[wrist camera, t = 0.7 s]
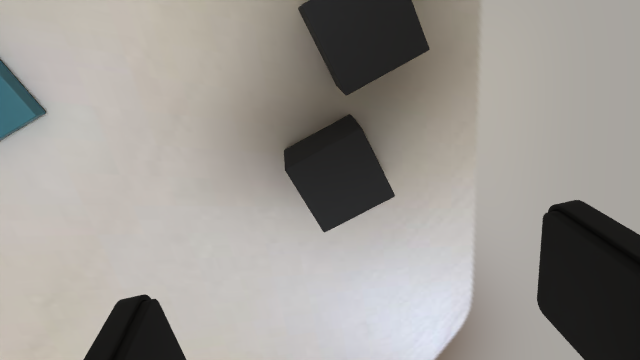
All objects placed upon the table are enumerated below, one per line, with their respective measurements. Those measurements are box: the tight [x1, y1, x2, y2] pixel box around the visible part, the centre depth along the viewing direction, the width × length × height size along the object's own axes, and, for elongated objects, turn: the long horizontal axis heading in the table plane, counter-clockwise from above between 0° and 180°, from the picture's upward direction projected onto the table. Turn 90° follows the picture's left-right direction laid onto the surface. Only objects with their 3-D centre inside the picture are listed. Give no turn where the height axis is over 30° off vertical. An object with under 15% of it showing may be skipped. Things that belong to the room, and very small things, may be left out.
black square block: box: [284, 115, 395, 232], centre depth 23 cm, size 5×5×4 cm
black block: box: [298, 0, 429, 95], centre depth 20 cm, size 5×5×4 cm
